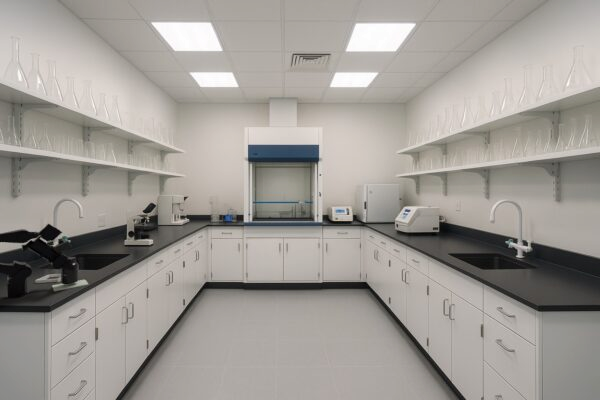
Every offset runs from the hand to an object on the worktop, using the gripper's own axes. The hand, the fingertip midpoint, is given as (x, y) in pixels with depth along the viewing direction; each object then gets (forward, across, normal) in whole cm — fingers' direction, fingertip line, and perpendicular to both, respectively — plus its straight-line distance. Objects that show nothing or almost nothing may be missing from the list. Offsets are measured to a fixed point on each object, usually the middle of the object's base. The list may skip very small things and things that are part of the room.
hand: (73, 268), depth 142 cm
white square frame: (+2, +19, +10) cm, 22 cm away
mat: (+5, 0, +7) cm, 8 cm away
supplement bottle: (+4, 0, +6) cm, 7 cm away
